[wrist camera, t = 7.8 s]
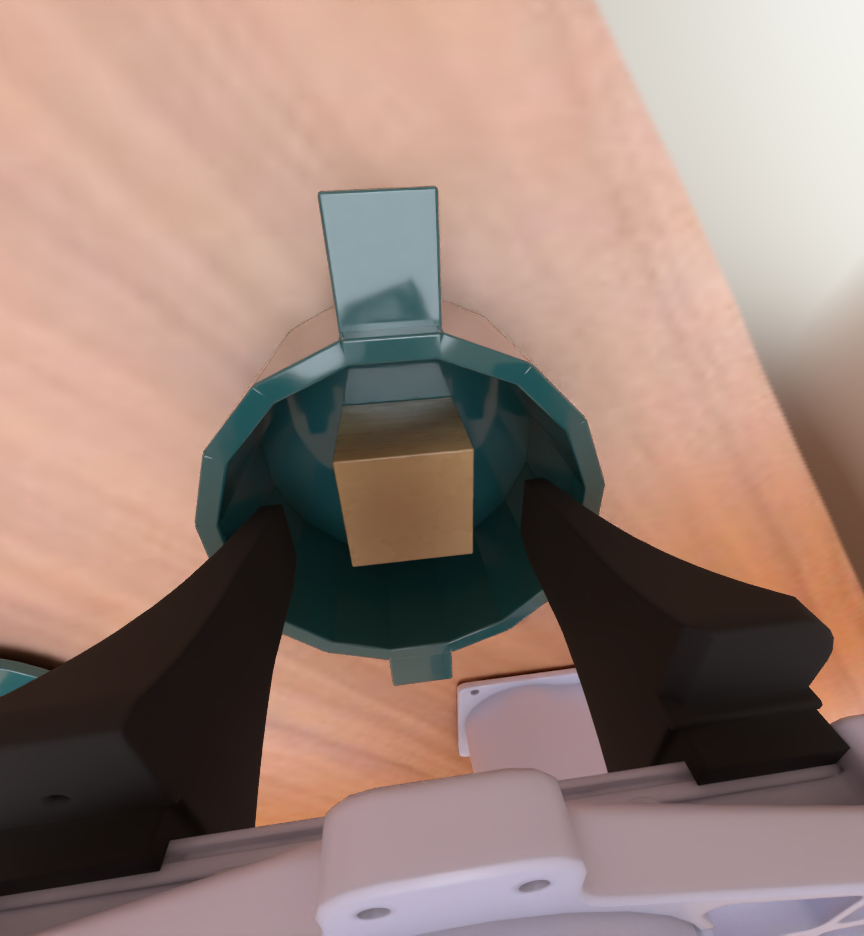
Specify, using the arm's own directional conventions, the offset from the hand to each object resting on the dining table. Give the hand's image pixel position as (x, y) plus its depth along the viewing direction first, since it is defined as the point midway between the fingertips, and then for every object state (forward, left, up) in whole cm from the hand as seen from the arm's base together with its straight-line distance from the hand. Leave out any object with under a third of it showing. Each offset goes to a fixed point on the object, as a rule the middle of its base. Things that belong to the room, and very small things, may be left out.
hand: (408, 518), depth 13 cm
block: (0, 0, -4) cm, 4 cm away
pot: (0, 0, -5) cm, 5 cm away
